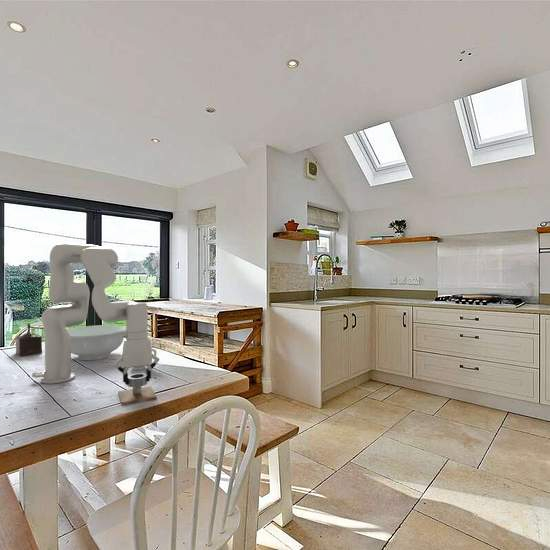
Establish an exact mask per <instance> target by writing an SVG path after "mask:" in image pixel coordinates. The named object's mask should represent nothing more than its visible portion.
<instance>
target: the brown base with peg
mask: <svg viewBox="0 0 550 550" xmlns="http://www.w3.org/2000/svg"><path fill="white" fill-rule="evenodd" d="M117 395H118V398H120V399H119V401H120V406H125V405H124V404H126V405H131V404H137V403H141V402H142V401H143V402H149V401H155V400H157V395H156V393H155V391H154V389H153V388H152V386H145V387H142V386H141V387H132V389H125V390H120V391H119V390H118V392H117ZM143 402H142V403H143ZM130 403H131V404H130Z"/></svg>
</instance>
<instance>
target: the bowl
mask: <svg viewBox="0 0 550 550" xmlns="http://www.w3.org/2000/svg"><path fill="white" fill-rule="evenodd" d="M66 330H67V331H68V333H69V334H70V337H71V355H75V356H78V357H77V358H78V360H82V361H94V360H101V359H106V358H109V357H110V356H112V355H111V354H112V352H114V351H116V350H117V349H119V348H120V346H121V345H122V344H123V343H124V340H125V337H122V334H123V333H125V332H126V326H124V325H123V326H122V325H115V324H114V325H113V324H99V325H87V326H78V327H73V328H67V329H66Z"/></svg>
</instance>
